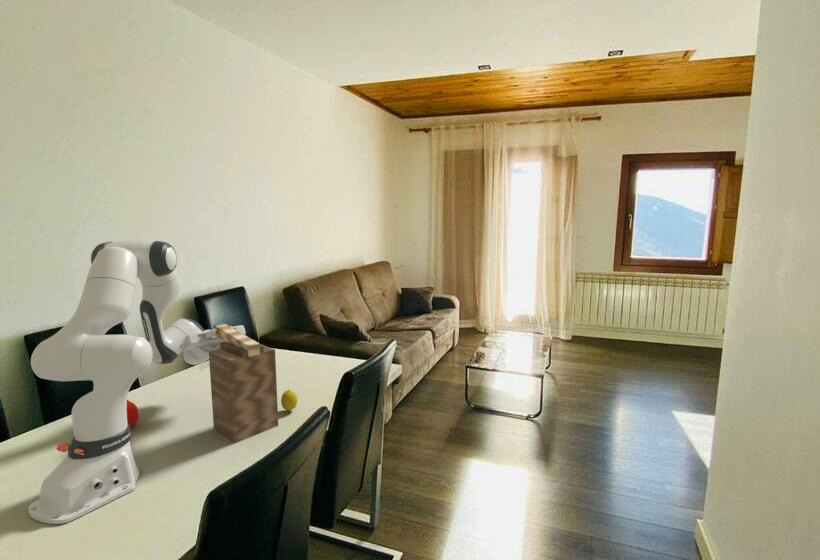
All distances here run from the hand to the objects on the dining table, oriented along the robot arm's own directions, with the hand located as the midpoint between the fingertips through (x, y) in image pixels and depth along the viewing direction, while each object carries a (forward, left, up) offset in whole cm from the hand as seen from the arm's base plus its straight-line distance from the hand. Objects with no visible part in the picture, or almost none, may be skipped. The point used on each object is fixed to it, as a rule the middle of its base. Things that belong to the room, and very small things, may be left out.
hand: (223, 329), depth 144 cm
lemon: (+11, -17, -31) cm, 37 cm away
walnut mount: (-4, -11, -31) cm, 33 cm away
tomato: (-21, +27, -31) cm, 46 cm away
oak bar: (-3, -7, -3) cm, 9 cm away
